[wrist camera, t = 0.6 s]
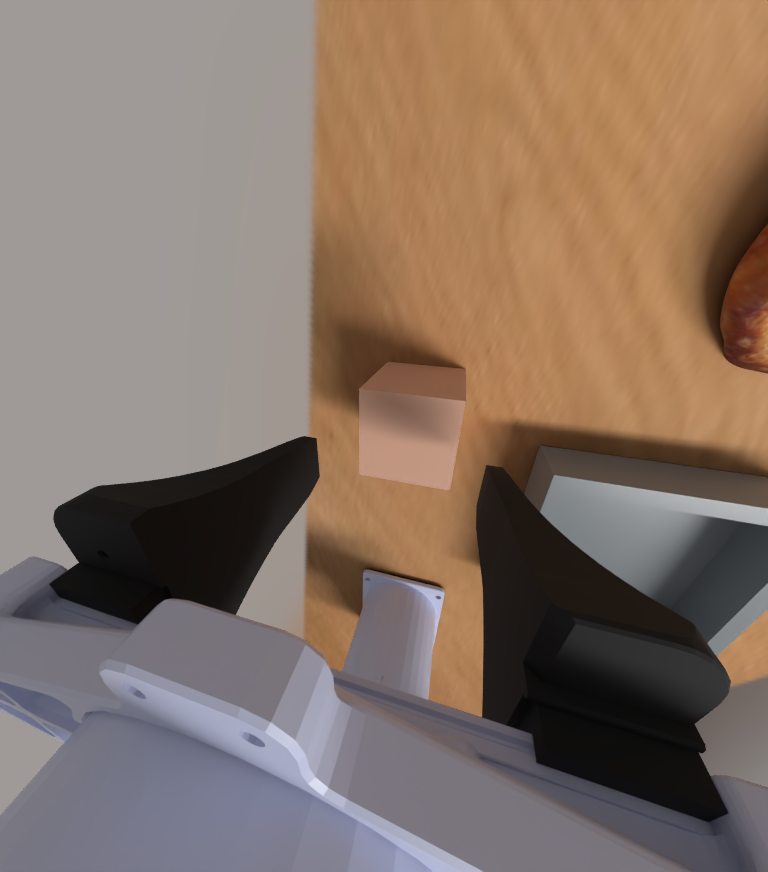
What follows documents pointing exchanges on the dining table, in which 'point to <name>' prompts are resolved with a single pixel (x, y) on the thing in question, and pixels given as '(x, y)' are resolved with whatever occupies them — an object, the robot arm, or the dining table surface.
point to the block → (411, 423)
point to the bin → (665, 531)
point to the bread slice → (748, 309)
